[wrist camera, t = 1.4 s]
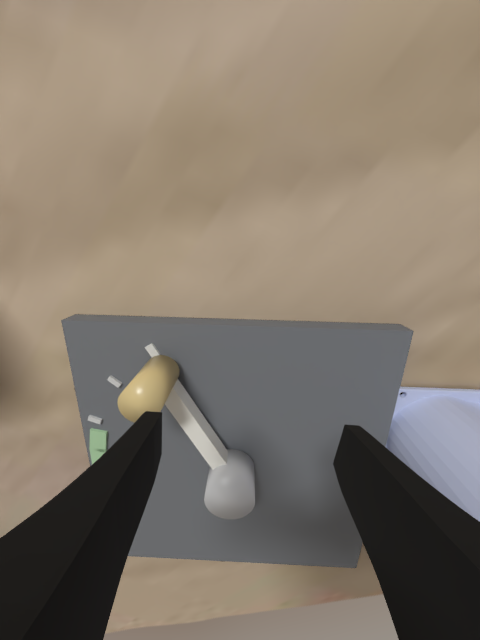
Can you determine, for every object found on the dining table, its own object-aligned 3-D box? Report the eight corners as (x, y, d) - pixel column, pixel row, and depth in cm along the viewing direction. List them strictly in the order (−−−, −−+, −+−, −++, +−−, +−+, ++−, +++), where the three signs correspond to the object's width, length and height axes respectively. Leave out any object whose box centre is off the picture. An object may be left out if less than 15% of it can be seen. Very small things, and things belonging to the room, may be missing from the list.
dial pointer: (261, 474, 20) (265, 531, 16) (223, 489, 21) (218, 547, 17) (175, 344, 17) (153, 375, 13) (133, 366, 18) (100, 402, 14)
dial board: (400, 324, 18) (415, 332, 17) (350, 549, 25) (357, 570, 24) (75, 314, 19) (59, 321, 17) (115, 537, 26) (106, 557, 24)
